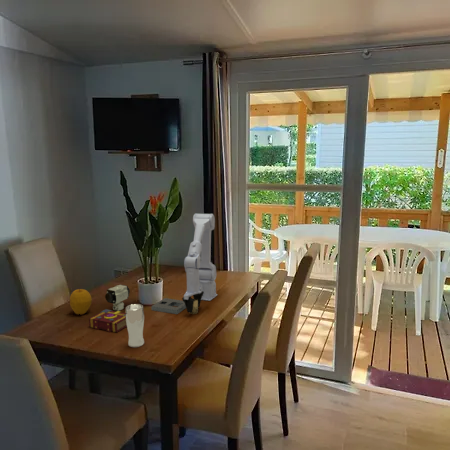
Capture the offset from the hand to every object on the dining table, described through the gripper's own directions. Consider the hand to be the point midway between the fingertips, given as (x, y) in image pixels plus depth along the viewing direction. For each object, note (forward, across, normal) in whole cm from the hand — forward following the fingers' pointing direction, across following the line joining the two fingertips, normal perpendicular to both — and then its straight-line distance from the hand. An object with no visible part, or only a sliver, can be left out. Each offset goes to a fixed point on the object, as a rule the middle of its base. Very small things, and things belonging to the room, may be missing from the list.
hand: (193, 309), depth 186 cm
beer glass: (+2, -37, +6) cm, 38 cm away
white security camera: (+2, -10, +35) cm, 36 cm away
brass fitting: (+1, 0, 0) cm, 1 cm away
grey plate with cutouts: (+1, +1, +13) cm, 13 cm away
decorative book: (+2, -26, +27) cm, 38 cm away
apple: (+2, -20, +49) cm, 53 cm away
